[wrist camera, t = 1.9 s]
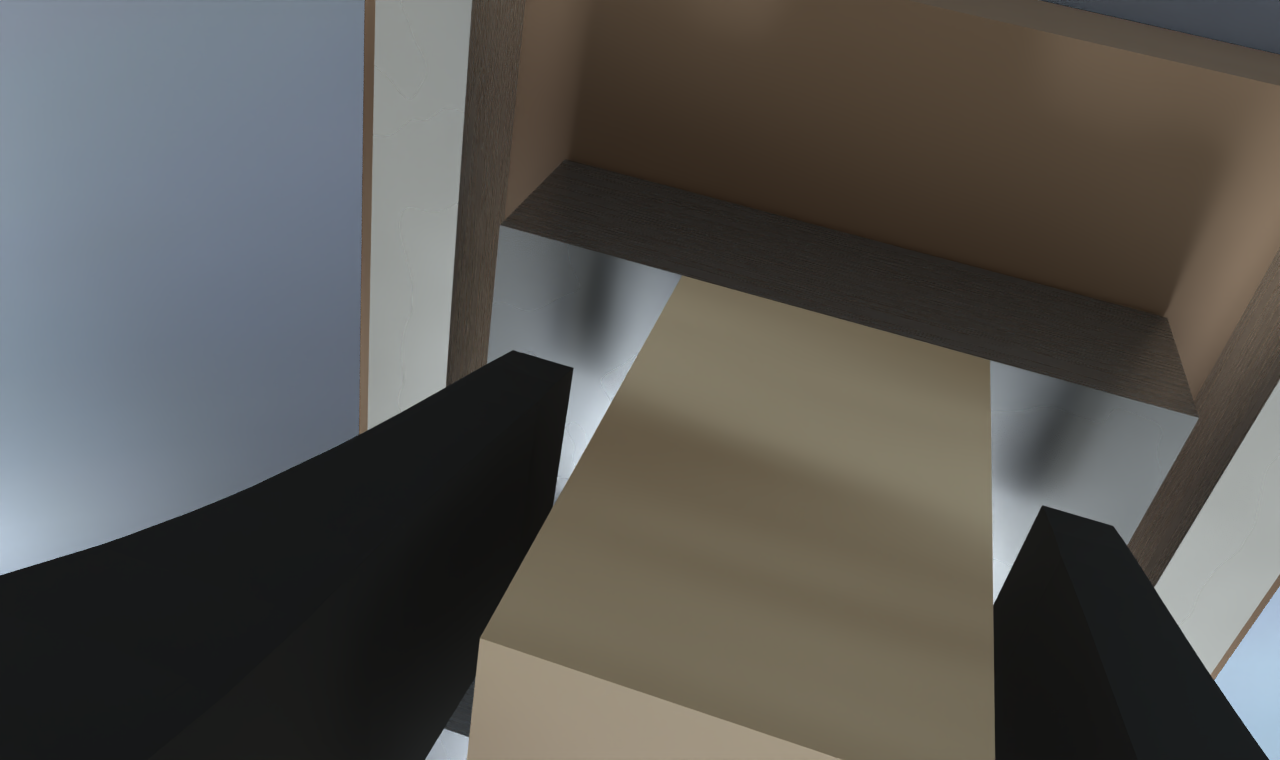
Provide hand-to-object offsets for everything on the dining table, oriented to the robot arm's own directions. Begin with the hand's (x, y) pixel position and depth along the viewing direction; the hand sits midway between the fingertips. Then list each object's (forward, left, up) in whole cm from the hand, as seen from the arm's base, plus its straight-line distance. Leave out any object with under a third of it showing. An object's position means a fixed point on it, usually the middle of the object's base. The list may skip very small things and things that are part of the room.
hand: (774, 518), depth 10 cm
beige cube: (-1, 0, -3) cm, 4 cm away
